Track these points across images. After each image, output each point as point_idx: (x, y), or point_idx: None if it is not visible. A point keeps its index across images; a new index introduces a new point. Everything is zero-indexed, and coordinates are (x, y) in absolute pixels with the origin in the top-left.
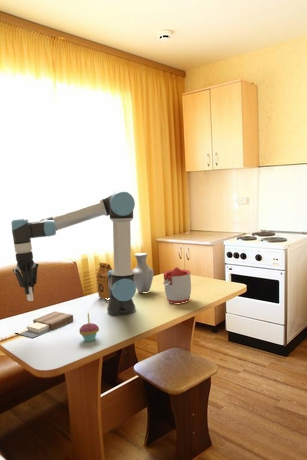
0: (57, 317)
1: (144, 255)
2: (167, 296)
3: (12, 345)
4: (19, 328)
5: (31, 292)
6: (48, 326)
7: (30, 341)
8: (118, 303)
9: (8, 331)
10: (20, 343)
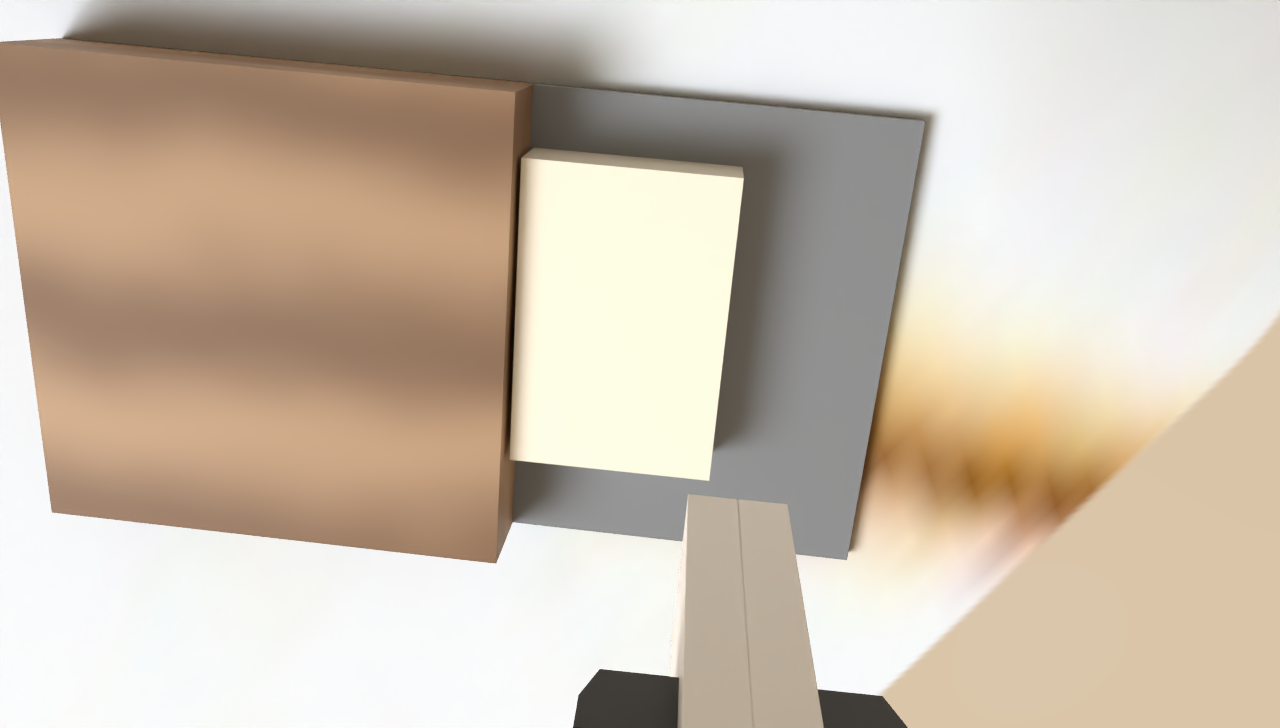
0: (226, 243)
1: None
2: None
3: (1237, 219)
4: None
5: (736, 669)
6: (534, 155)
7: (1033, 55)
8: None
9: None
10: (1141, 156)
